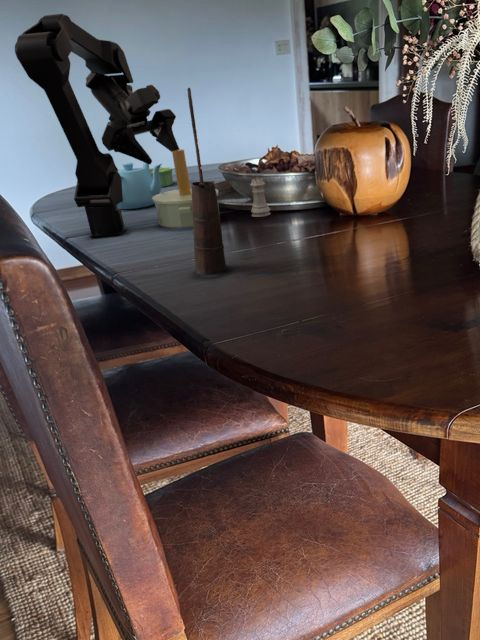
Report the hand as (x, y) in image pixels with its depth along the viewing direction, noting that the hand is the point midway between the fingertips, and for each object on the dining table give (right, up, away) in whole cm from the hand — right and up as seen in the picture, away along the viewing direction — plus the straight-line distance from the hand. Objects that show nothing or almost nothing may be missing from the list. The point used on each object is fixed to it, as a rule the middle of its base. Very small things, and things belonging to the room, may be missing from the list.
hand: (165, 158), depth 142 cm
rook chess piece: (+21, -12, +3) cm, 24 cm away
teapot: (-14, -1, +27) cm, 30 cm away
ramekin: (-14, +13, +51) cm, 54 cm away
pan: (+5, -13, +4) cm, 14 cm away
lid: (+4, -8, +1) cm, 9 cm away
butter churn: (+16, -34, -33) cm, 49 cm away
